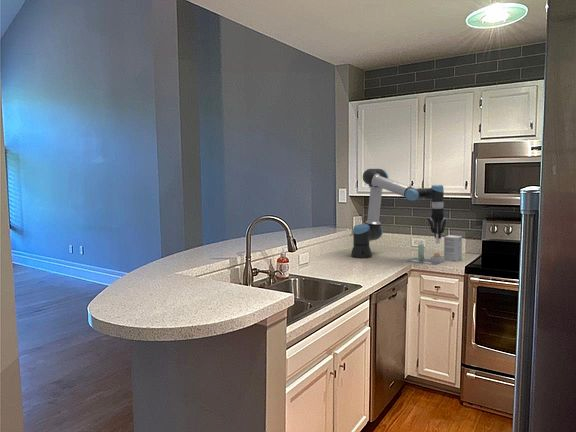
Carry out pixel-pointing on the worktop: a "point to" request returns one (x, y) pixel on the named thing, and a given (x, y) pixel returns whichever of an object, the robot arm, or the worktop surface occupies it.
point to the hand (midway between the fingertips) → (437, 243)
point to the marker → (420, 252)
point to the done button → (436, 254)
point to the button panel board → (428, 260)
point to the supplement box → (453, 248)
